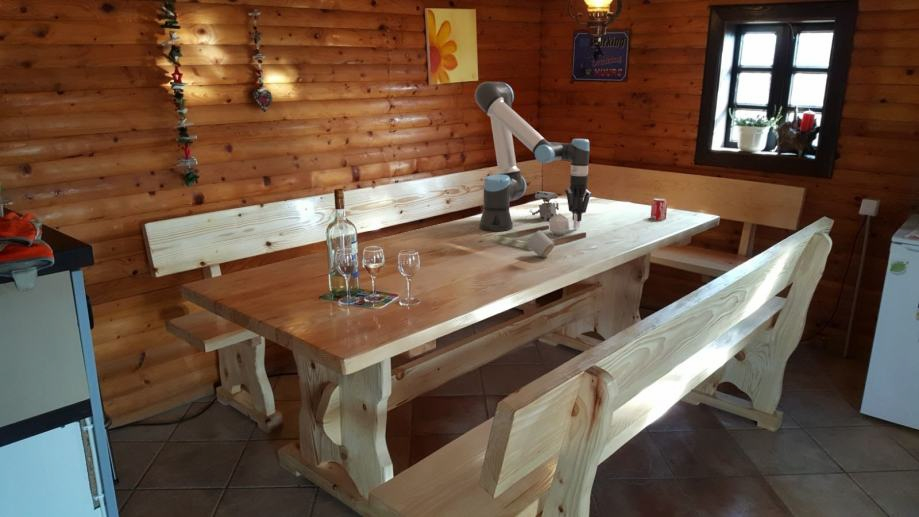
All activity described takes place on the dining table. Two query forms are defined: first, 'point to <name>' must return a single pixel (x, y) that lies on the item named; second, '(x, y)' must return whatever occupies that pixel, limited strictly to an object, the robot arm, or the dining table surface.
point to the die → (559, 224)
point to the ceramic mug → (540, 244)
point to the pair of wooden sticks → (510, 240)
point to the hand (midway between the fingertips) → (576, 228)
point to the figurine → (546, 205)
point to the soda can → (658, 209)
